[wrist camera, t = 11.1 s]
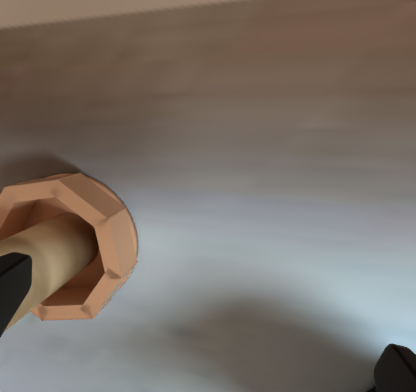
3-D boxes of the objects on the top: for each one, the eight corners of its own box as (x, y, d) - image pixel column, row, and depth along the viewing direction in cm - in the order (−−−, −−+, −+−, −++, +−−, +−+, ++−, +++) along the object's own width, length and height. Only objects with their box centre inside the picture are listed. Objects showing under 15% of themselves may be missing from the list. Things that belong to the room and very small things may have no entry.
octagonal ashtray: (97, 320, 25) (73, 347, 23) (-1, 244, 26) (-36, 261, 23) (163, 229, 23) (146, 246, 20) (53, 145, 23) (21, 149, 20)
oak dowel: (81, 279, 24) (-49, 386, 15) (36, 244, 24) (-122, 328, 15) (109, 237, 23) (-13, 325, 13) (62, 200, 23) (-93, 261, 14)
